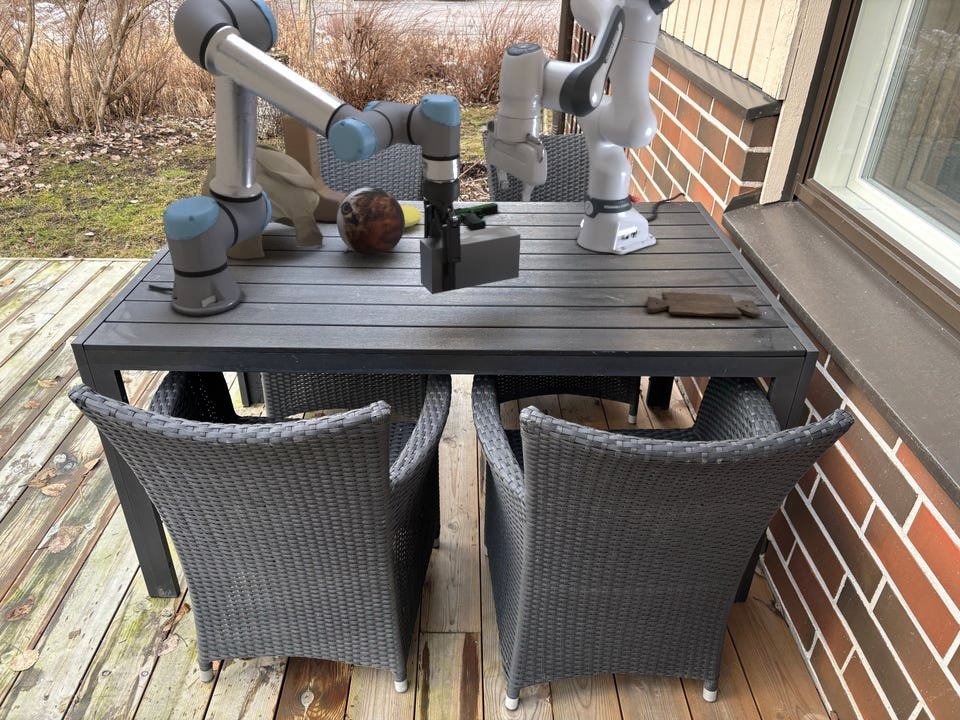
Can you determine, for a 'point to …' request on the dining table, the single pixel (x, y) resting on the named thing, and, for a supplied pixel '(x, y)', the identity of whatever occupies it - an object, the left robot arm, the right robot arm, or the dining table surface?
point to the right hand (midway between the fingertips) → (513, 194)
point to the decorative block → (311, 166)
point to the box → (473, 258)
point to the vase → (411, 215)
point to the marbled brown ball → (370, 221)
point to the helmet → (280, 199)
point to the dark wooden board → (702, 305)
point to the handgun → (476, 215)
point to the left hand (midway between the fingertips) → (442, 283)
